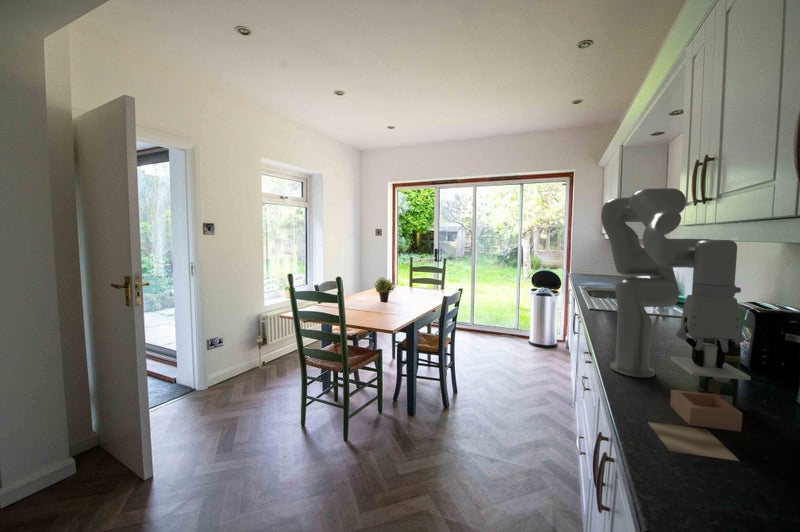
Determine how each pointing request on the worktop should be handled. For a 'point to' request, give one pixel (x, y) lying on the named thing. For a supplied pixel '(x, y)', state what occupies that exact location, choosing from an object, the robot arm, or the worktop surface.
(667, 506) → the worktop surface
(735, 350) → the coffee jar
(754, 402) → the worktop surface
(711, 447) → the mat
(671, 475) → the worktop surface
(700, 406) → the dish
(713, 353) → the lid
